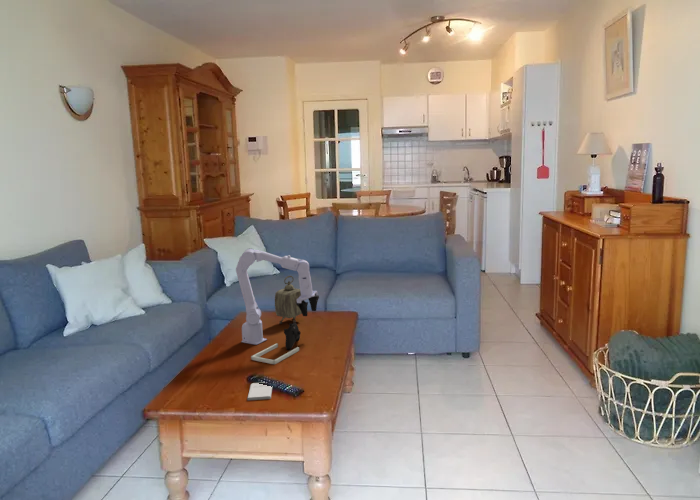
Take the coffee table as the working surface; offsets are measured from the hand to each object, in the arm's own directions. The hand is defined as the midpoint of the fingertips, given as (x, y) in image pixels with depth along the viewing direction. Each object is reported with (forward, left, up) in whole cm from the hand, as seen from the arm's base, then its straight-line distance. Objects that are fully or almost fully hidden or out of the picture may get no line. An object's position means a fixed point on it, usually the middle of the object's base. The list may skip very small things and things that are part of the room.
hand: (309, 313), depth 246 cm
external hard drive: (+16, -58, -13) cm, 61 cm away
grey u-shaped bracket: (-2, -25, -12) cm, 28 cm away
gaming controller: (-2, -12, -13) cm, 17 cm away
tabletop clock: (-24, +17, -13) cm, 32 cm away
